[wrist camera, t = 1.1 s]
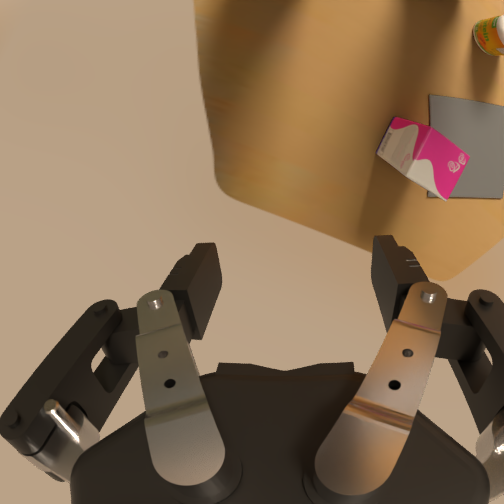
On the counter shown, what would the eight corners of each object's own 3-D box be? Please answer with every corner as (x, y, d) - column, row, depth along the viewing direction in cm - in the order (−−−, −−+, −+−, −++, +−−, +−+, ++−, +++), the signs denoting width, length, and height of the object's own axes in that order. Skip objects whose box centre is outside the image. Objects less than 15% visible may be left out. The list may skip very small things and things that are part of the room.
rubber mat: (428, 94, 30) (429, 94, 30) (507, 107, 28) (508, 107, 28) (427, 195, 37) (428, 196, 37) (501, 197, 34) (502, 198, 34)
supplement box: (410, 174, 36) (446, 204, 26) (374, 152, 36) (402, 176, 26) (429, 138, 33) (472, 157, 23) (393, 114, 33) (429, 124, 23)
